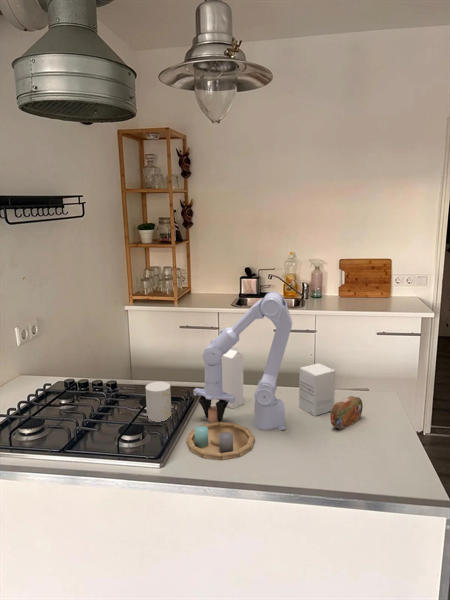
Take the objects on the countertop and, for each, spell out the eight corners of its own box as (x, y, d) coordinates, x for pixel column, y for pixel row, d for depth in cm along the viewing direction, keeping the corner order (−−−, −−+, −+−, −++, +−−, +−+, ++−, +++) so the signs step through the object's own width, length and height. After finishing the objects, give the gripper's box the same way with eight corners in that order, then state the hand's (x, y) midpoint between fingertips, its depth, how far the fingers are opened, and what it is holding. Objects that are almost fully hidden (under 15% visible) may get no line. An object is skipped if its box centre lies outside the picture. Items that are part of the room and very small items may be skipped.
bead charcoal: (230, 446, 138) (230, 430, 137) (235, 453, 134) (234, 437, 133) (217, 448, 137) (217, 433, 136) (221, 455, 133) (221, 439, 132)
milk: (231, 399, 173) (231, 342, 169) (243, 403, 169) (243, 345, 165) (219, 404, 169) (219, 345, 164) (232, 409, 165) (232, 349, 160)
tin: (336, 433, 148) (337, 408, 146) (328, 429, 150) (328, 405, 148) (362, 418, 157) (364, 394, 156) (354, 415, 160) (356, 392, 158)
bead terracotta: (218, 419, 157) (218, 405, 156) (221, 424, 154) (221, 410, 153) (206, 421, 156) (206, 407, 155) (210, 426, 153) (209, 412, 151)
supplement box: (317, 401, 171) (318, 362, 168) (334, 410, 163) (336, 370, 160) (297, 406, 166) (298, 367, 163) (314, 416, 159) (316, 375, 155)
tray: (241, 424, 154) (241, 418, 153) (263, 455, 135) (263, 448, 134) (181, 434, 148) (181, 427, 147) (196, 467, 129) (196, 460, 129)
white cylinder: (167, 426, 153) (165, 392, 150) (143, 424, 154) (141, 390, 152) (174, 415, 161) (173, 382, 158) (152, 413, 162) (150, 380, 160)
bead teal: (206, 440, 142) (206, 425, 141) (209, 446, 138) (209, 431, 137) (193, 441, 141) (193, 426, 140) (196, 448, 137) (195, 433, 136)
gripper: (188, 380, 152) (189, 419, 155) (227, 388, 145) (228, 428, 148) (199, 373, 158) (200, 410, 161) (237, 380, 151) (237, 419, 154)
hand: (214, 418), depth 155 cm, fingers closed on bead terracotta, 4 cm apart
